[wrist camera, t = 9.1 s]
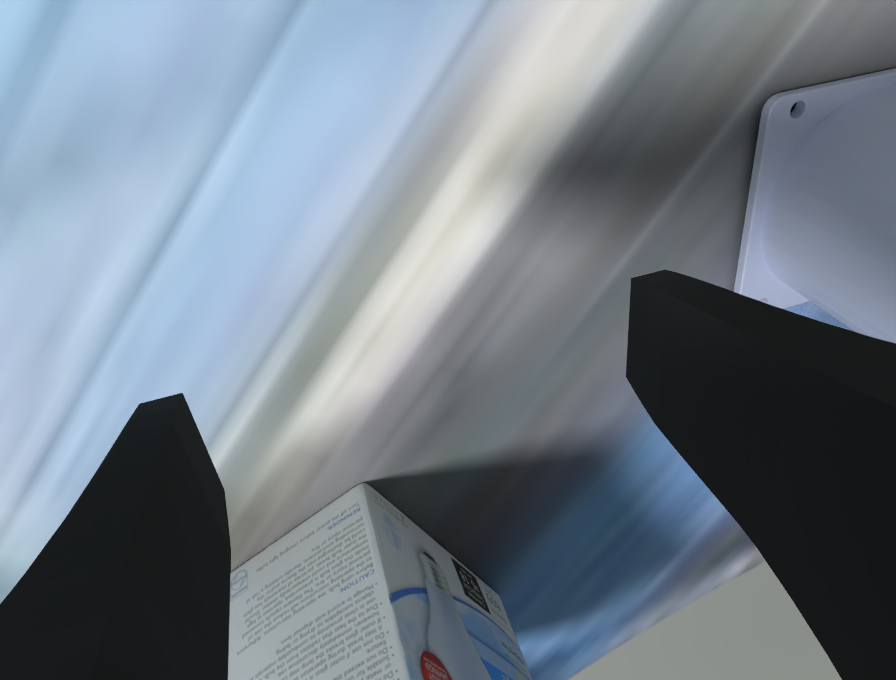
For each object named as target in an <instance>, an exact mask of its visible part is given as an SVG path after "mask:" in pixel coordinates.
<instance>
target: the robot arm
mask: <svg viewBox="0 0 896 680" xmlns="http://www.w3.org/2000/svg"><path fill="white" fill-rule="evenodd" d="M795 103H796V107H795V109H794V110H793V112H792V113H790V110H791V108H792V106H793V105H794V104H795ZM759 300H760V301H759ZM809 301H811V302H812V303H814V304H815V305H817V306H818V307H820V308H821V309H823V310H824V311H826V312H827V313H829V314H830V315H832V316H833V317H835V318H836V319H838V320H839V321H841V322H842V323H844V324H845V325H846V326H848V327H849V328H851V329H852V330H854V331H855V332H853V331H850V330H846V329H843V328H840V327H836V326H833V325H830V324H826V323H823V322H820V321H817V320H814V319H811V318H808V317H805V316H802V315H799V314H796V313H793V312H790V311H787V310H784V309H783V308H787V307H791V306H794V305H798V304H802V303H805V302H809ZM856 332H857V333H856ZM626 378H627V379H628V381H629V383H630V384H631V386H632V388H633V389H634V391H635V393H636V394H637V396H638V398H639V399H640V401H641V403H642V404H643V406H644V407H645V409H646V411H647V412H648V414H649V415H650V417H651V418H652V420H653V421H654V423H655V424H656V426H657V427H658V428H659V429H660V431H661V432H662V433H663V434H664V436H665V437H666V438H667V439H668V440H669V442H670V443H671V444H672V445H673V446H674V448H675V449H676V450H677V451H678V453H679V454H680V455H681V456H682V457H683V459H684V460H685V461H686V462H687V463H688V464H689V466H690V467H691V468H692V469H693V470H694V472H695V473H696V474H697V475H698V476H699V478H700V479H701V480H702V481H703V482H704V483H705V485H706V486H707V487H708V488H709V489H710V491H711V492H712V493H713V494H714V495H715V496H716V498H717V499H718V500H719V501H720V502H721V504H722V505H723V506H724V507H725V508H726V509H727V511H728V512H729V513H730V514H731V515H732V517H733V518H734V519H735V520H736V521H737V523H738V524H739V525H740V526H741V528H742V529H743V530H744V531H745V533H746V534H747V535H748V537H749V538H750V539H751V541H752V542H753V543H754V544H755V546H756V547H757V548H758V550H759V551H760V553H761V554H762V556H763V557H764V559H765V560H766V562H767V563H768V565H769V566H770V568H771V569H772V571H773V572H774V573H775V575H776V576H777V578H778V579H779V581H780V582H781V584H782V585H783V587H784V588H785V590H786V591H787V593H788V594H789V596H790V597H791V599H792V600H793V601H794V603H795V605H796V606H797V608H798V610H799V611H800V613H801V614H802V616H803V617H804V619H805V620H806V622H807V624H808V625H809V627H810V628H811V630H812V631H813V633H814V635H815V636H816V638H817V639H818V641H819V642H820V644H821V646H822V647H823V649H824V650H825V652H826V653H827V655H828V657H829V658H830V660H831V662H832V663H833V665H834V666H835V668H836V670H837V672H838V674H839V675H840V677H841V678H842V680H896V68H895V69H890V70H885V71H880V72H876V73H871V74H866V75H862V76H857V77H852V78H847V79H843V80H838V81H833V82H828V83H824V84H819V85H814V86H810V87H805V88H800V89H795V90H791V91H786V92H781V93H778V94H775V95H773V96H772V97H771V98H769V99H768V100H767V102H766V103H765V105H764V106H763V110H762V113H761V119H760V126H759V132H758V138H757V145H756V151H755V158H754V164H753V171H752V177H751V184H750V190H749V196H748V203H747V209H746V216H745V222H744V229H743V235H742V242H741V248H740V254H739V261H738V267H737V274H736V280H735V287H734V292H733V291H730V290H727V289H724V288H722V287H719V286H716V285H713V284H710V283H707V282H704V281H701V280H698V279H695V278H692V277H689V276H686V275H683V274H679V273H676V272H672V271H668V270H662V271H658V272H654V273H650V274H646V275H642V276H638V277H634V278H631V293H630V311H629V330H628V348H627V367H626ZM230 574H231V547H230V536H229V526H228V517H227V509H226V500H225V492H224V488H223V486H222V484H221V481H220V479H219V477H218V474H217V472H216V470H215V467H214V465H213V463H212V460H211V458H210V456H209V453H208V451H207V449H206V446H205V444H204V442H203V439H202V437H201V435H200V432H199V430H198V428H197V426H196V423H195V421H194V419H193V416H192V414H191V412H190V409H189V407H188V405H187V402H186V400H185V398H184V395H183V393H180V394H176V395H172V396H168V397H164V398H160V399H156V400H153V401H149V402H145V403H141V404H139V405H138V407H137V408H136V410H135V411H134V413H133V414H132V416H131V418H130V419H129V421H128V422H127V424H126V425H125V427H124V428H123V430H122V432H121V433H120V435H119V436H118V438H117V440H116V441H115V443H114V444H113V446H112V448H111V449H110V451H109V452H108V454H107V456H106V457H105V459H104V460H103V462H102V463H101V465H100V467H99V468H98V470H97V471H96V473H95V474H94V476H93V478H92V479H91V481H90V482H89V484H88V485H87V487H86V488H85V490H84V491H83V493H82V494H81V496H80V497H79V499H78V500H77V502H76V503H75V505H74V506H73V508H72V509H71V511H70V512H69V514H68V515H67V517H66V518H65V520H64V521H63V522H62V524H61V525H60V526H59V528H58V529H57V531H56V532H55V533H54V535H53V536H52V537H51V539H50V540H49V541H48V543H47V544H46V546H45V547H44V548H43V550H42V551H41V552H40V554H39V555H38V557H37V558H36V559H35V561H34V562H33V563H32V565H31V566H30V567H29V569H28V570H27V572H26V573H25V574H24V575H23V577H22V578H21V579H20V581H19V582H18V583H17V584H16V586H15V587H14V588H13V589H12V591H11V592H10V593H9V594H8V595H7V597H6V598H5V599H4V600H3V602H2V603H1V604H0V680H228V656H229V618H230Z"/></svg>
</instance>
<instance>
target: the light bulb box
mask: <svg viewBox="0 0 896 680" xmlns="http://www.w3.org/2000/svg"><path fill="white" fill-rule="evenodd" d="M228 680H532V677H531V675H530V672H529V670H528V667H527V665H526V662H525V660H524V657H523V655H522V652H521V650H520V647H519V644H518V642H517V639H516V637H515V634H514V632H513V630H512V627H511V624H510V622H509V619H508V617H507V614H506V612H505V609H504V607H503V604H502V602H501V599H500V597H499V595H498V594H497V593H496V592H494V591H493V590H492V589H491V588H490V587H489V586H487V585H486V584H485V583H484V582H483V581H482V580H480V579H479V578H478V577H477V576H476V575H475V574H473V573H472V572H471V571H470V570H469V569H467V568H466V567H465V566H464V565H463V564H462V563H460V562H459V561H458V560H457V559H456V558H455V557H453V556H452V555H451V554H450V553H449V552H447V551H446V550H445V549H444V548H443V547H442V546H440V545H439V544H438V543H437V542H436V541H435V540H433V539H432V538H431V537H430V536H429V535H428V534H426V533H425V532H424V531H423V530H422V529H420V528H419V527H418V526H417V525H416V524H415V523H413V522H412V521H411V520H410V519H409V518H408V517H406V516H405V515H404V514H403V513H402V512H401V511H399V510H398V509H397V508H396V507H395V506H394V505H392V504H391V503H390V502H389V501H388V500H386V499H385V498H384V497H383V496H382V495H380V494H379V493H378V492H377V491H376V490H374V489H373V488H372V487H371V486H369V485H368V484H366V483H361V484H358V485H357V486H355V487H354V488H352V489H351V490H349V491H348V492H346V493H345V494H343V495H342V496H341V497H339V498H338V499H336V500H335V501H333V502H332V503H330V504H329V505H327V506H326V507H324V508H323V509H322V510H320V511H319V512H318V513H316V514H315V515H313V516H311V517H310V518H309V519H307V520H306V521H304V522H303V523H302V524H300V525H299V526H297V527H296V528H294V529H293V530H291V531H290V532H289V533H287V534H286V535H284V536H283V537H281V538H280V539H279V540H277V541H276V542H274V543H273V544H271V545H270V546H268V547H267V548H266V549H264V550H263V551H261V552H260V553H258V554H257V555H256V556H254V557H253V558H251V559H250V560H248V561H247V562H246V563H244V564H243V565H241V566H240V567H238V568H237V569H235V570H234V571H233V572H231V574H230V618H229V656H228Z"/></svg>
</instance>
